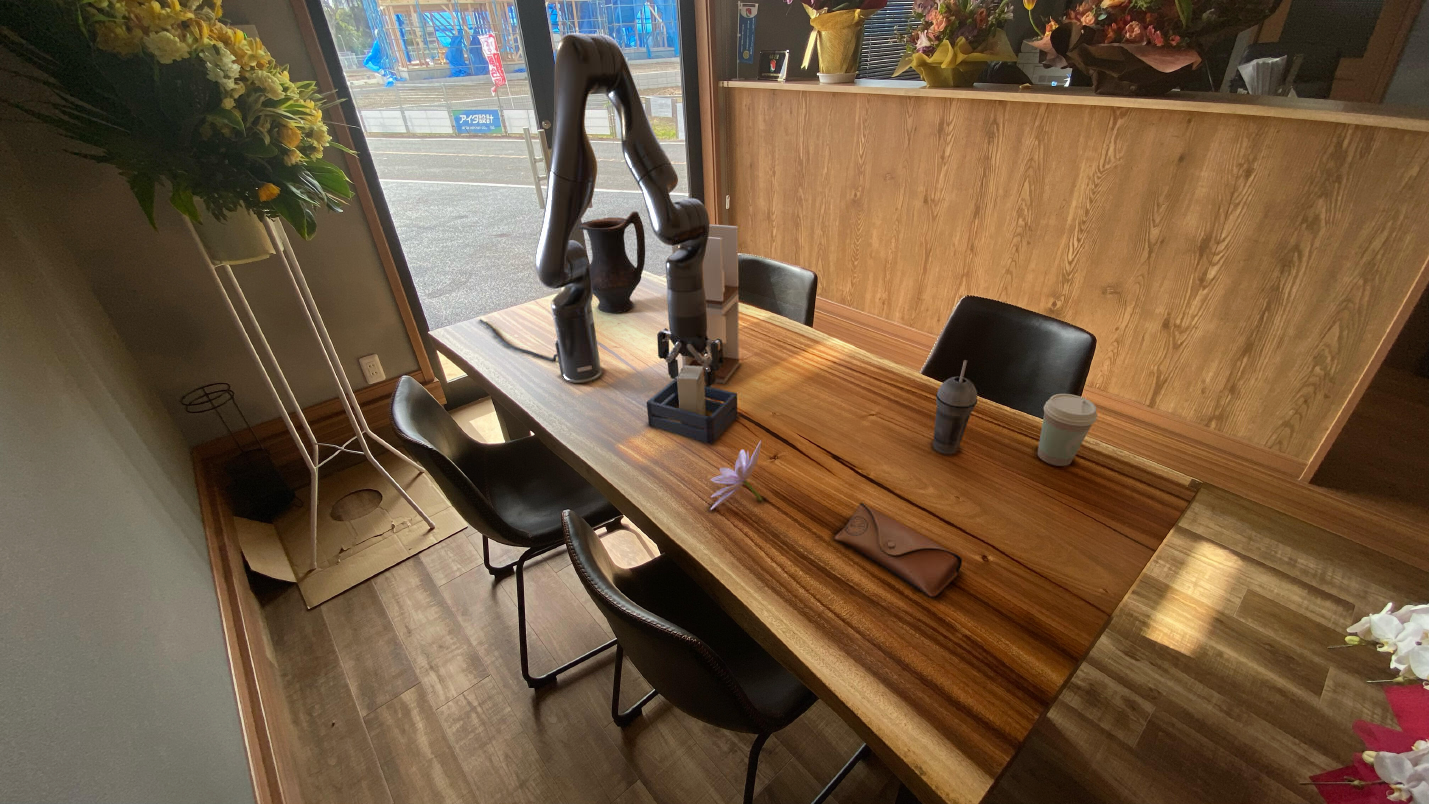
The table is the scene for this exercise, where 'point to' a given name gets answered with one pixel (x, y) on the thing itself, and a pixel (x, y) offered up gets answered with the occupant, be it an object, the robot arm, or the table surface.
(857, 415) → the table surface
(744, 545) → the table surface
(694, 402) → the cosmetic box
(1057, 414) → the coffee cup
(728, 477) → the water lily
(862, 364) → the table surface
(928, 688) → the table surface
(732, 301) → the two-tier display stand
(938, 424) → the beverage cup
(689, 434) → the crate
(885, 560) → the sunglasses case
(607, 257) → the jug
